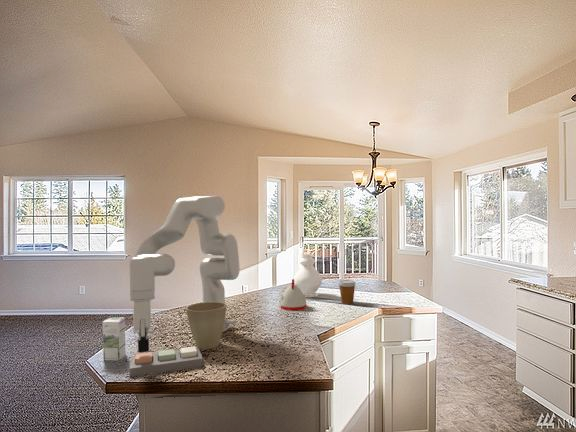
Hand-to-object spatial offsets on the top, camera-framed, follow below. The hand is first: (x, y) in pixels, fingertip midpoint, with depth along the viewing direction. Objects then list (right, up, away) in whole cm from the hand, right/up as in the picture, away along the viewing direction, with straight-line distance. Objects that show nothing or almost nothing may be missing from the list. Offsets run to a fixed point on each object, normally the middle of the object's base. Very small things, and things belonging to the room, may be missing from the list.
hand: (143, 351), depth 125 cm
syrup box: (-14, -7, +10) cm, 18 cm away
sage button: (+7, -4, +2) cm, 8 cm away
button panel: (+7, -6, +2) cm, 10 cm away
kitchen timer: (+50, -6, +83) cm, 97 cm away
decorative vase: (+59, -6, +114) cm, 128 cm away
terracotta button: (0, -4, 0) cm, 4 cm away
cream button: (+13, -4, +5) cm, 15 cm away
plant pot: (+16, -6, +21) cm, 27 cm away
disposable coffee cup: (+80, -5, +90) cm, 121 cm away
